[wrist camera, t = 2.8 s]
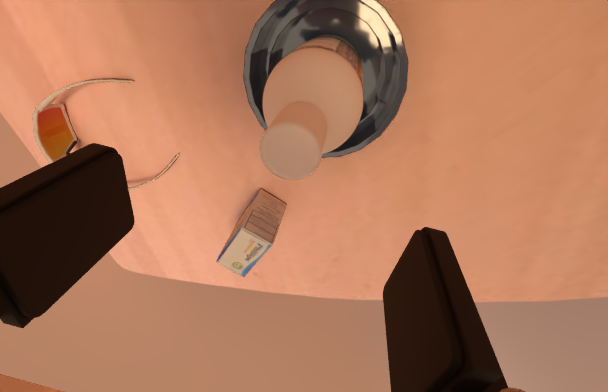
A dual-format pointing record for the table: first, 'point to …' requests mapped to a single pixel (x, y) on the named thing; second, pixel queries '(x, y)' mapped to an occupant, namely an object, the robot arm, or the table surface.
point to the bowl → (352, 27)
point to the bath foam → (311, 105)
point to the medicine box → (252, 234)
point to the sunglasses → (63, 128)
